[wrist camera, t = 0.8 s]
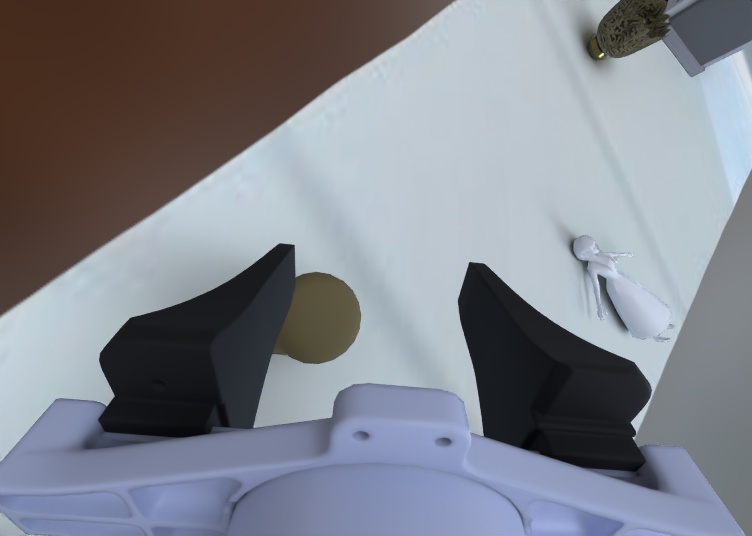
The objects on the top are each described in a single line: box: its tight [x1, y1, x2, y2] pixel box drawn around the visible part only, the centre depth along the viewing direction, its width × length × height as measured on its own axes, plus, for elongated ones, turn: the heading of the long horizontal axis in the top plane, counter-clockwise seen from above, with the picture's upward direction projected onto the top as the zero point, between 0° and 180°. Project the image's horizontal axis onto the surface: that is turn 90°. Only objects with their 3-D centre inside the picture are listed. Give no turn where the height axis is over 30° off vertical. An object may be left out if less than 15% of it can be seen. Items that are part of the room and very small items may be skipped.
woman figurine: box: [573, 235, 674, 342], centre depth 45 cm, size 12×4×18 cm
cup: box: [588, 0, 671, 60], centre depth 49 cm, size 8×7×8 cm
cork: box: [272, 272, 361, 364], centre depth 24 cm, size 6×6×11 cm
